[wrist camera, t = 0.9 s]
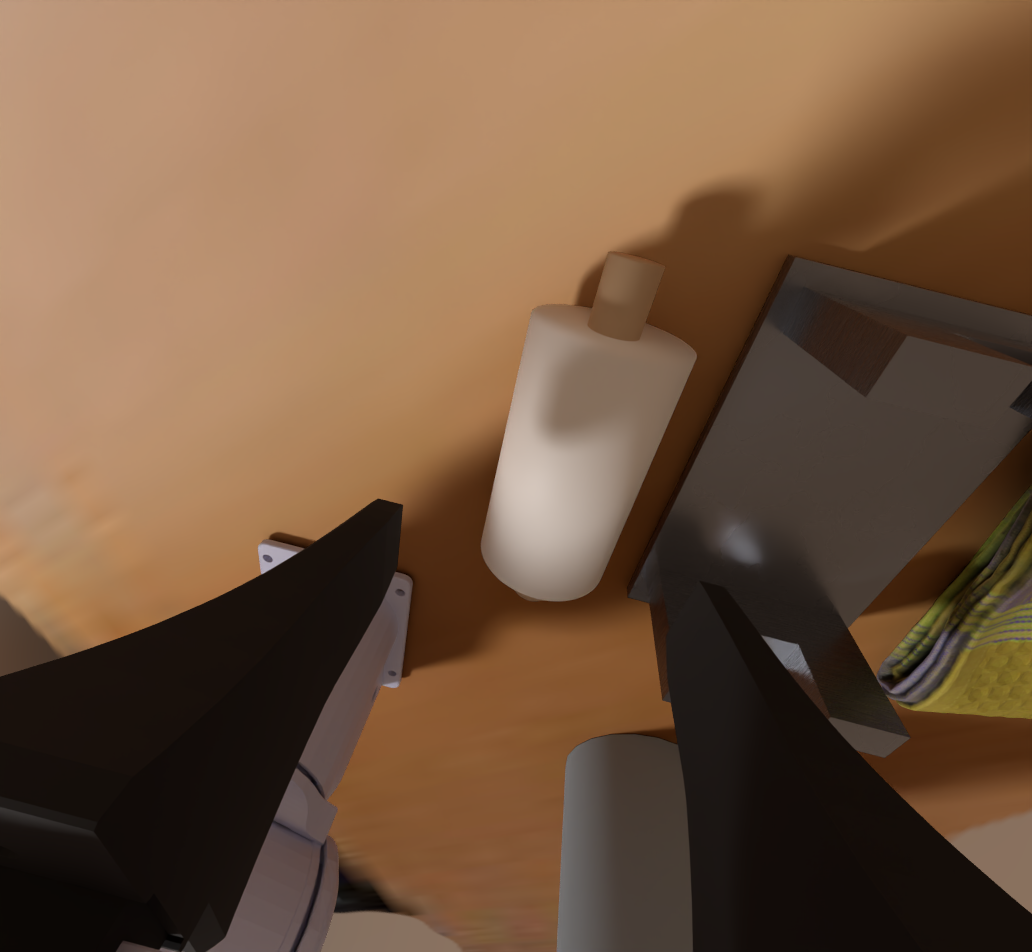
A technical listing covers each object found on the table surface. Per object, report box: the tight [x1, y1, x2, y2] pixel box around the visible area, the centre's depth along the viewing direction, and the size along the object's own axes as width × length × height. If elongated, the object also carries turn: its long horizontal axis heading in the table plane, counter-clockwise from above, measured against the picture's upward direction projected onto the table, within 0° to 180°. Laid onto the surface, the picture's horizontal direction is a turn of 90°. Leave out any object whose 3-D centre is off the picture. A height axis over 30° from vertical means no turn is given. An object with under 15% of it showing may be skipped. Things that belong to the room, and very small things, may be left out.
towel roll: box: [481, 251, 697, 601], centre depth 16 cm, size 13×5×5 cm, turn 168°
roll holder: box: [627, 255, 1032, 758], centre depth 16 cm, size 15×10×6 cm, turn 168°
